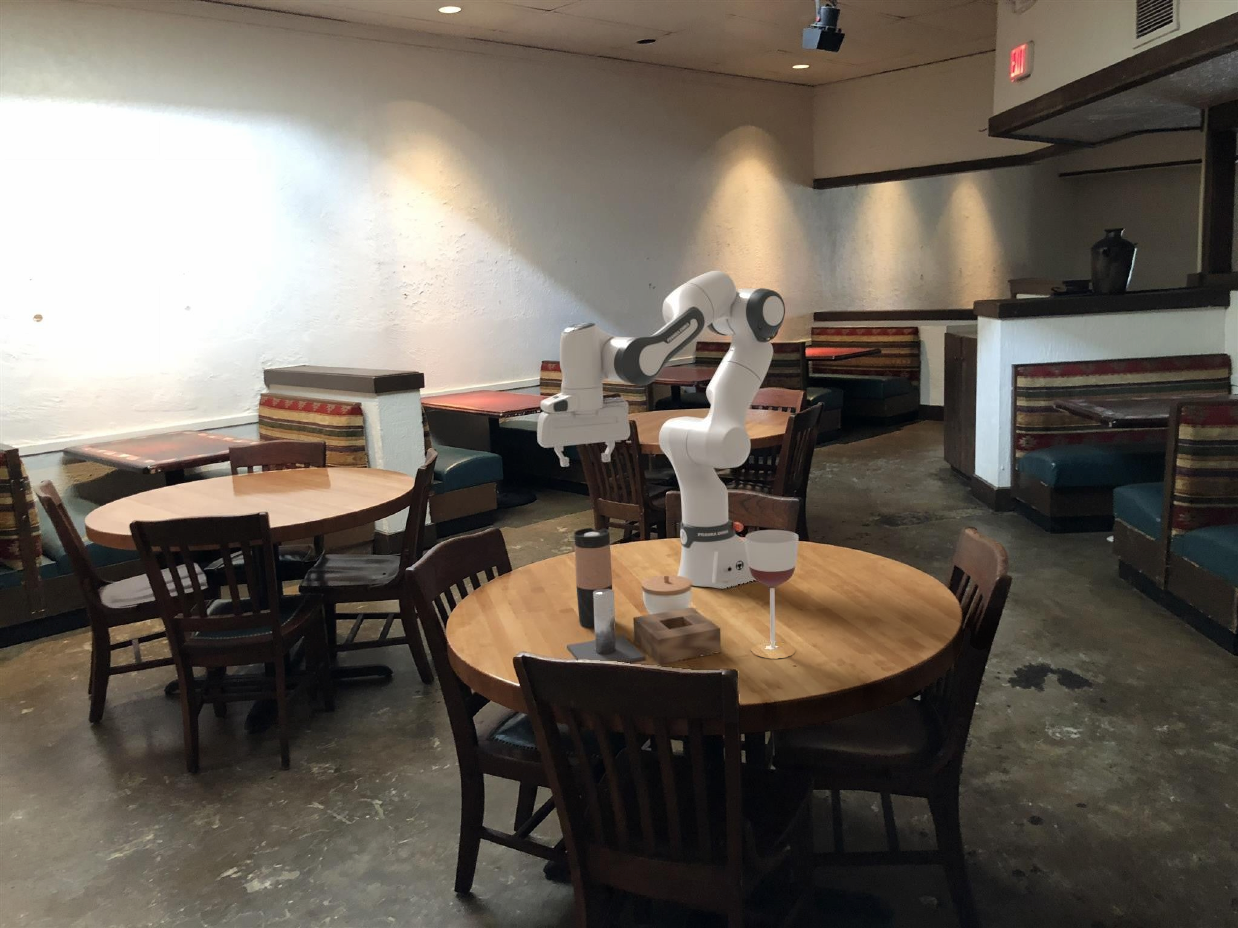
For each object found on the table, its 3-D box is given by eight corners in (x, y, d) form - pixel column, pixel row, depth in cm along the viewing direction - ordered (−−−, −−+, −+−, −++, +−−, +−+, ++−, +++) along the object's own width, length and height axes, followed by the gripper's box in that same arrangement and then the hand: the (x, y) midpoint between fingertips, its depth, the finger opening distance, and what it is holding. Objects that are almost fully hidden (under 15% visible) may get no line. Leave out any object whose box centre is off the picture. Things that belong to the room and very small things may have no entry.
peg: (611, 645, 186) (609, 587, 184) (618, 652, 182) (616, 593, 180) (592, 648, 185) (590, 590, 182) (599, 655, 181) (597, 596, 179)
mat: (622, 637, 191) (622, 635, 191) (645, 659, 180) (644, 656, 180) (566, 648, 187) (566, 645, 187) (586, 670, 176) (585, 667, 176)
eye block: (692, 630, 194) (691, 607, 193) (720, 652, 182) (720, 628, 181) (634, 640, 189) (633, 617, 188) (659, 664, 177) (658, 639, 176)
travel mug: (587, 631, 196) (583, 539, 192) (572, 620, 202) (567, 531, 198) (620, 623, 199) (616, 533, 195) (604, 613, 206) (599, 525, 202)
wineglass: (742, 643, 186) (740, 531, 181) (791, 639, 187) (791, 528, 182) (752, 661, 177) (751, 544, 172) (804, 657, 178) (804, 541, 173)
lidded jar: (654, 605, 209) (653, 565, 207) (699, 611, 204) (698, 570, 203) (634, 622, 200) (633, 580, 198) (681, 628, 195) (680, 585, 193)
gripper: (622, 394, 206) (625, 456, 209) (533, 402, 199) (536, 466, 202) (633, 397, 200) (635, 461, 203) (541, 405, 193) (544, 471, 196)
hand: (585, 463), depth 202 cm, fingers open, 8 cm apart
